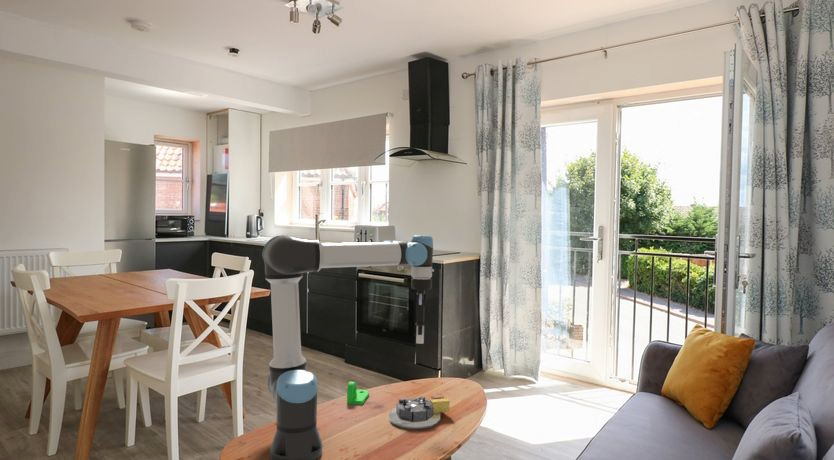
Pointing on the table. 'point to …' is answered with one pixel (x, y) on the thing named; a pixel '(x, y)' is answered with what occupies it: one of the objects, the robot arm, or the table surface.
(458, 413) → the table surface
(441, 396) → the housing
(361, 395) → the mechanical part
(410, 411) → the grey ring yellow handle
